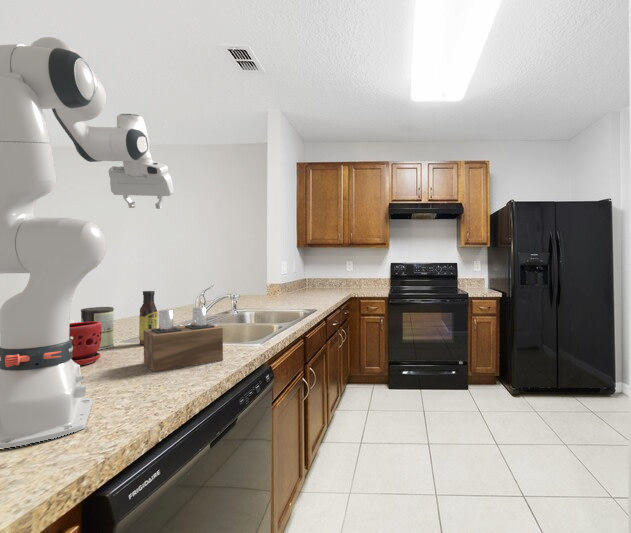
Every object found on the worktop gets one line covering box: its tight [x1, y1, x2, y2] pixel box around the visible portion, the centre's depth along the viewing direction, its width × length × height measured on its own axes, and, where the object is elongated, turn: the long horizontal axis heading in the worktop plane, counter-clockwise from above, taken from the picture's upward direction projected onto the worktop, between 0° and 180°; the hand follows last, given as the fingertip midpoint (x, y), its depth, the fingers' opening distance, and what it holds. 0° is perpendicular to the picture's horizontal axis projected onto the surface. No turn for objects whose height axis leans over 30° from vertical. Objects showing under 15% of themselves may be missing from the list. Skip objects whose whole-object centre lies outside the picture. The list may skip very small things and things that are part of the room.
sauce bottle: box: [138, 290, 159, 346], centre depth 142 cm, size 7×6×20 cm
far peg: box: [192, 306, 207, 328], centre depth 118 cm, size 4×4×10 cm
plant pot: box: [69, 321, 102, 366], centre depth 115 cm, size 13×13×12 cm
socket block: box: [143, 322, 224, 373], centre depth 115 cm, size 12×20×10 cm, turn 127°
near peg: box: [158, 309, 175, 331], centre depth 112 cm, size 4×4×10 cm
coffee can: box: [80, 306, 115, 351], centre depth 136 cm, size 10×10×14 cm
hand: (145, 207), depth 130 cm, fingers open, 8 cm apart
